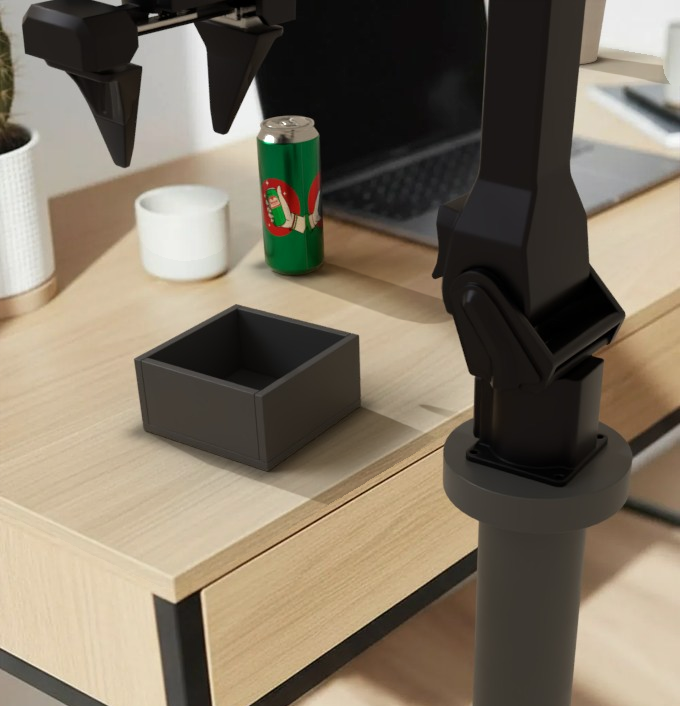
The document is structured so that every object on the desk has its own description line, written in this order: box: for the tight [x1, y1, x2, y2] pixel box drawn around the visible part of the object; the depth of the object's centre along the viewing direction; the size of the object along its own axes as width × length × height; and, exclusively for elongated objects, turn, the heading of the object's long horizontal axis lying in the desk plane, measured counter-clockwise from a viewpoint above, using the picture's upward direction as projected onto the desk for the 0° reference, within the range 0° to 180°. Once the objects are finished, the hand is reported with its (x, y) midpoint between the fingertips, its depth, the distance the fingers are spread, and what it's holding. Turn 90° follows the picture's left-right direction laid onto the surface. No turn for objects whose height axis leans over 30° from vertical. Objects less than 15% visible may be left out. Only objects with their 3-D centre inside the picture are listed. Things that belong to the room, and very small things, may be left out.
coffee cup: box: [580, 0, 607, 65], centre depth 161 cm, size 10×10×15 cm
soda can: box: [255, 115, 325, 276], centre depth 99 cm, size 5×5×12 cm
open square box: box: [133, 303, 362, 472], centre depth 77 cm, size 10×10×5 cm
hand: (173, 149), depth 80 cm, fingers open, 9 cm apart
